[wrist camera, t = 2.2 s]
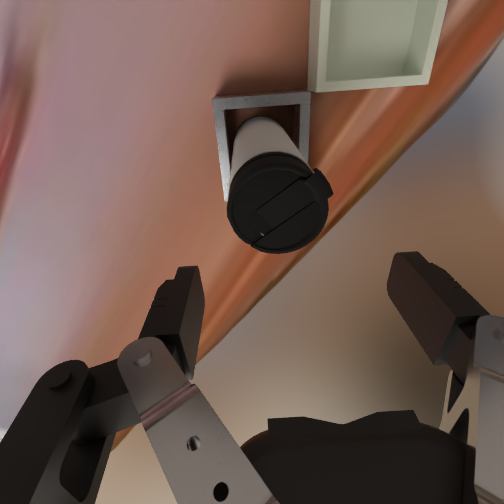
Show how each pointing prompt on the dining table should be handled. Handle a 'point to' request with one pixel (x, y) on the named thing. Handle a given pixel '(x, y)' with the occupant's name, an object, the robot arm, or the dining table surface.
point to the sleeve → (262, 99)
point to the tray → (372, 43)
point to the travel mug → (274, 190)
